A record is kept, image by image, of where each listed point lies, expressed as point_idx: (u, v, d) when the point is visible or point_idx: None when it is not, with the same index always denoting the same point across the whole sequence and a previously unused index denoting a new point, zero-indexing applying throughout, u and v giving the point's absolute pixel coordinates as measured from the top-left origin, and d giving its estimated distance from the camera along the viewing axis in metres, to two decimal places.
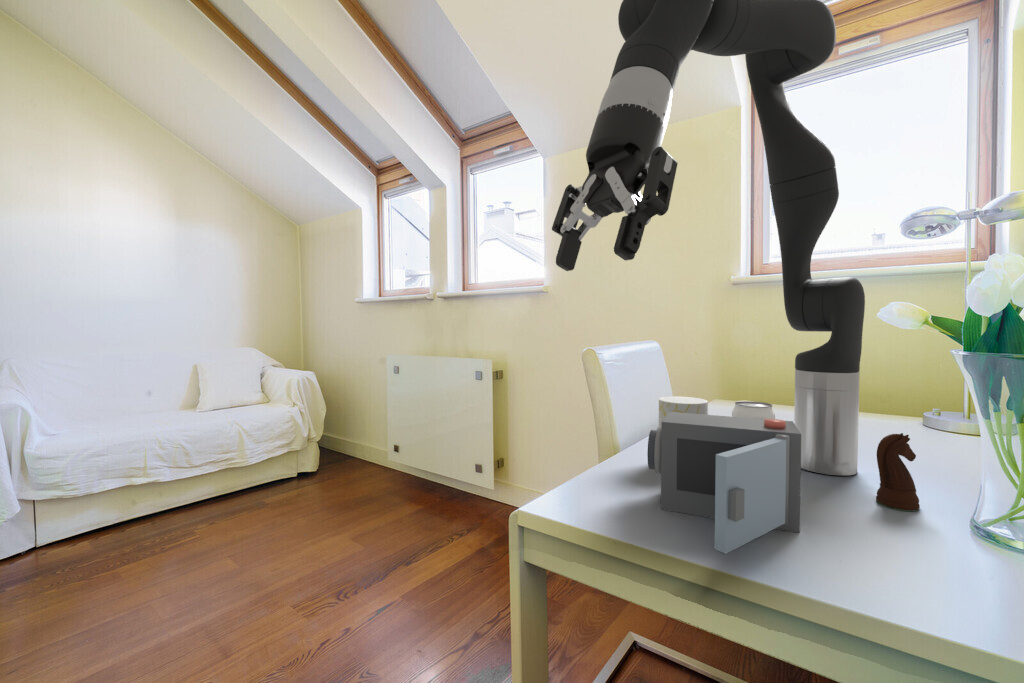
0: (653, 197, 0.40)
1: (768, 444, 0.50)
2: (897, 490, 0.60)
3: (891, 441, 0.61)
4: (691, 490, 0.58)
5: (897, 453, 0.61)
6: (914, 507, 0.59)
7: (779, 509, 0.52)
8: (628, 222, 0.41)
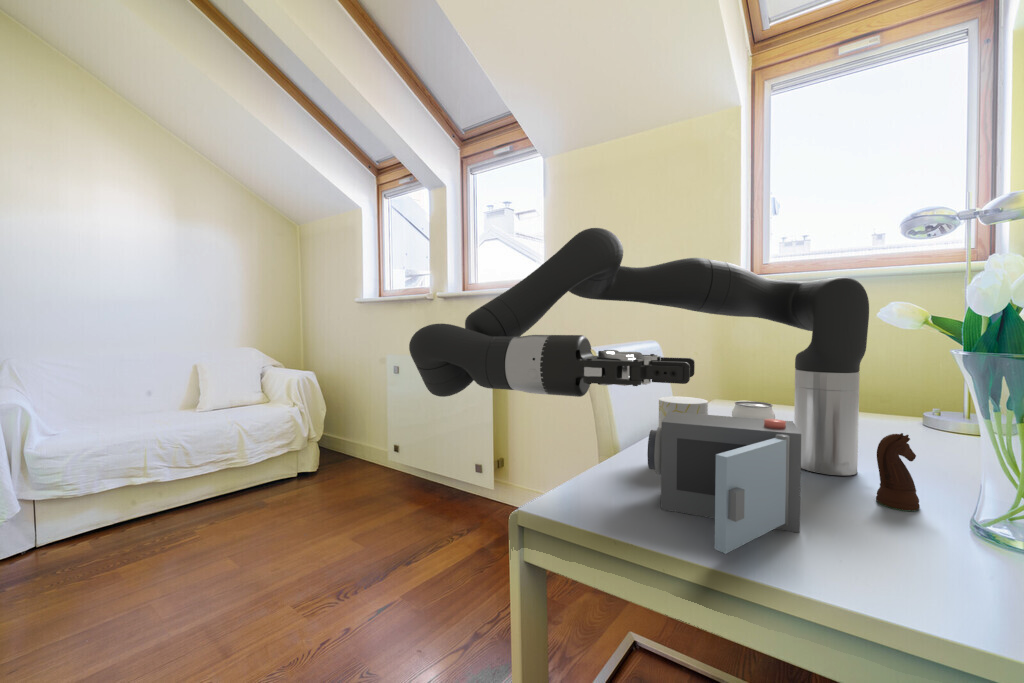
0: (635, 382, 0.45)
1: (768, 444, 0.50)
2: (897, 490, 0.60)
3: (891, 441, 0.61)
4: (691, 490, 0.58)
5: (897, 453, 0.61)
6: (914, 507, 0.59)
7: (779, 509, 0.52)
8: (657, 379, 0.46)
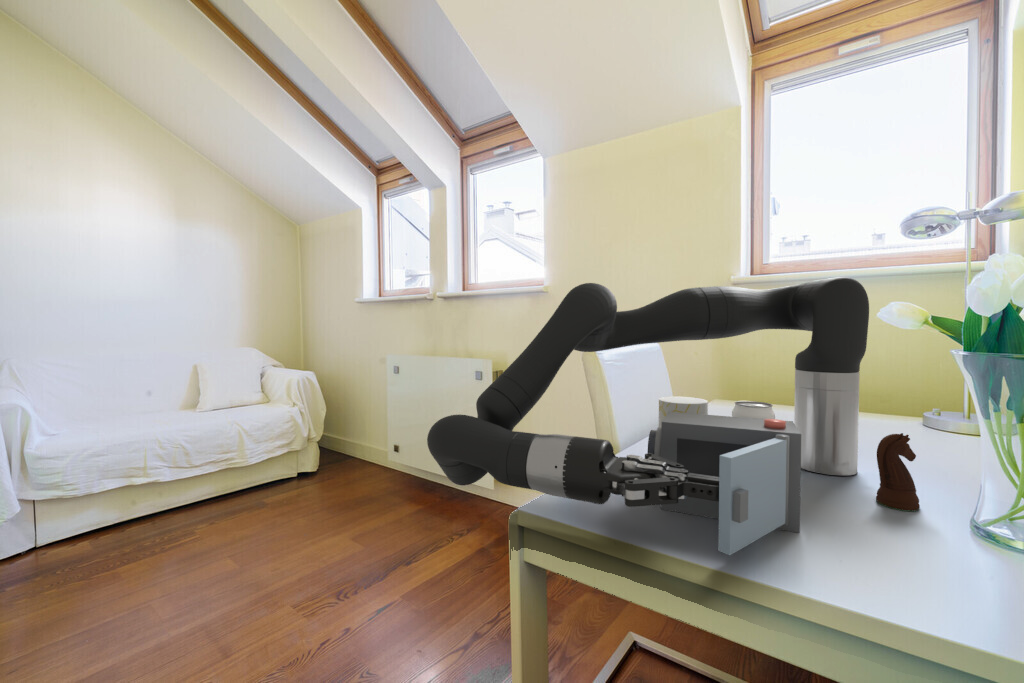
0: (672, 501, 0.46)
1: (769, 444, 0.50)
2: (897, 490, 0.60)
3: (891, 441, 0.61)
4: None
5: (897, 453, 0.61)
6: (914, 507, 0.59)
7: (780, 509, 0.52)
8: None
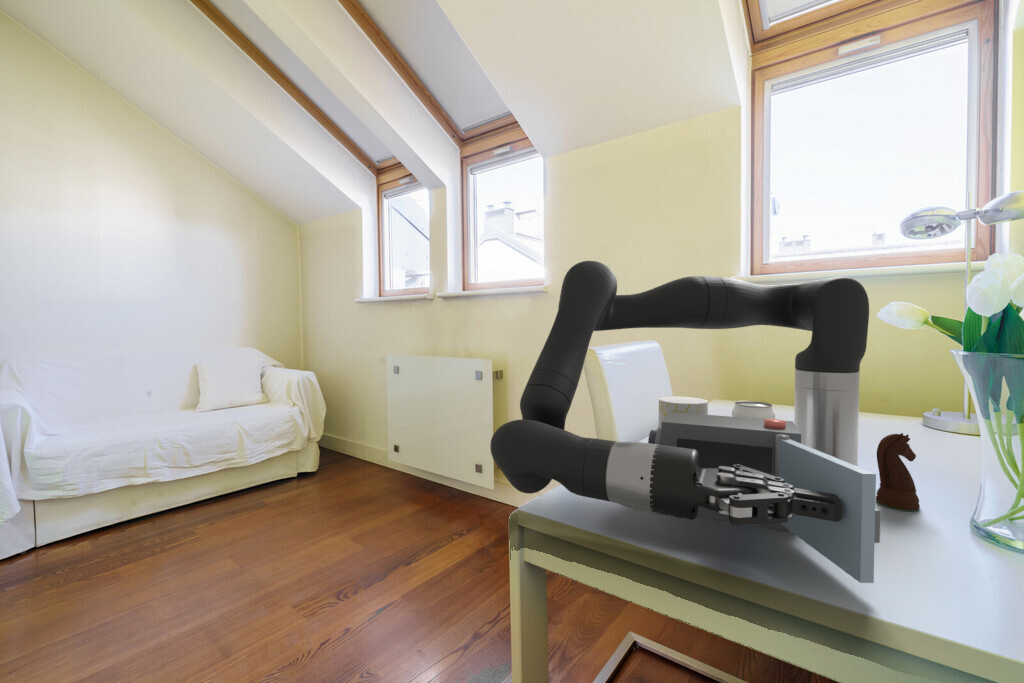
0: (781, 519, 0.42)
1: (809, 448, 0.49)
2: (897, 490, 0.60)
3: (891, 441, 0.61)
4: None
5: (897, 453, 0.61)
6: (914, 507, 0.59)
7: None
8: None
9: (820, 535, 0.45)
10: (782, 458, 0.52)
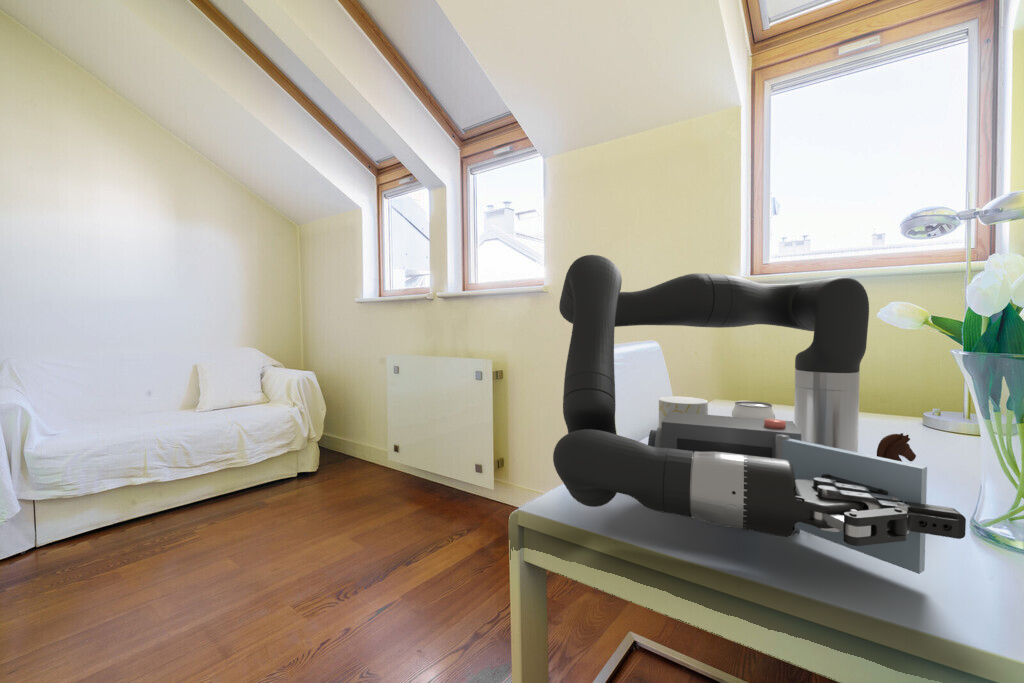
0: (900, 538, 0.38)
1: (823, 446, 0.49)
2: None
3: (891, 441, 0.61)
4: None
5: (897, 453, 0.61)
6: None
7: None
8: None
9: None
10: (789, 458, 0.52)
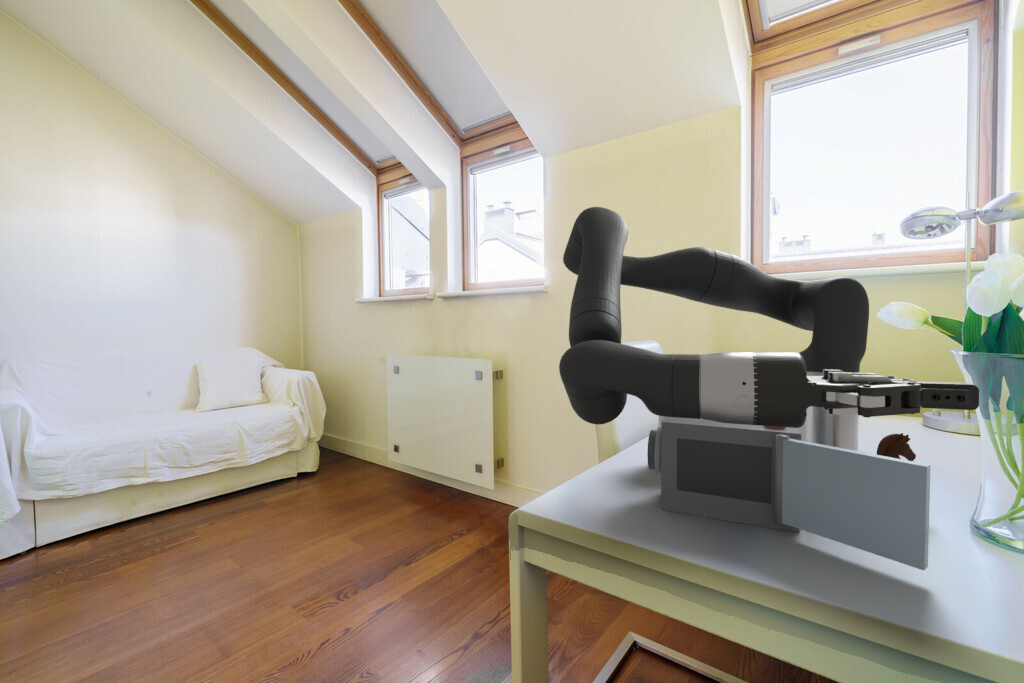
0: (914, 410, 0.38)
1: (824, 445, 0.50)
2: None
3: (891, 441, 0.61)
4: (691, 490, 0.58)
5: (897, 453, 0.61)
6: None
7: None
8: (931, 404, 0.39)
9: (857, 530, 0.46)
10: (790, 458, 0.52)
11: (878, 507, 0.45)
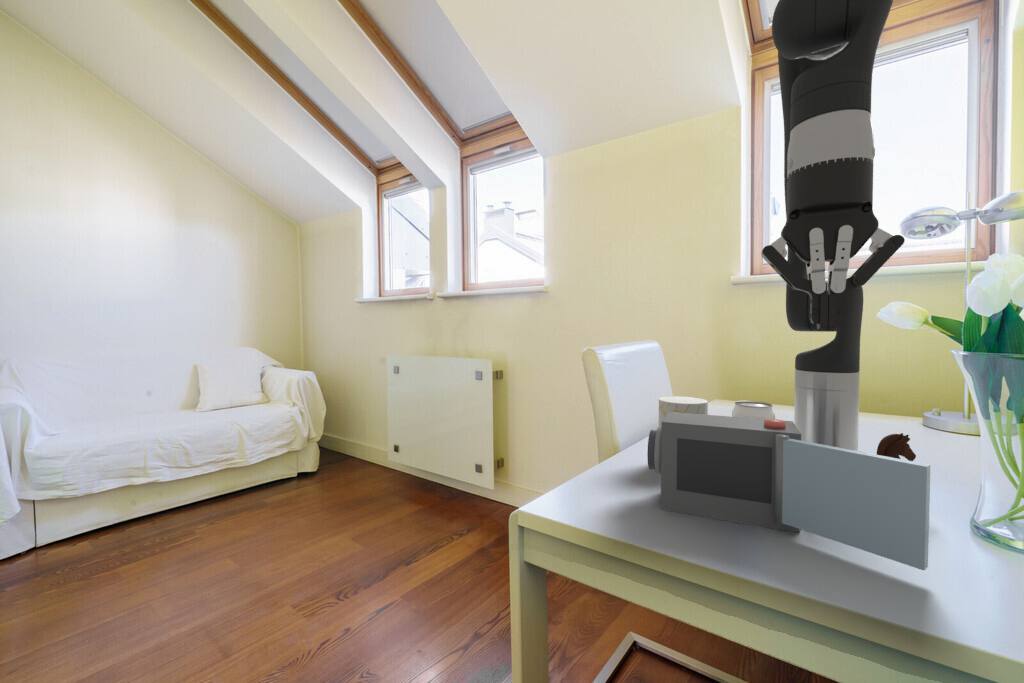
0: (865, 281, 0.46)
1: (824, 445, 0.50)
2: None
3: (891, 441, 0.61)
4: (691, 490, 0.58)
5: (897, 453, 0.61)
6: None
7: None
8: None
9: (857, 530, 0.46)
10: (790, 458, 0.52)
11: (878, 507, 0.45)
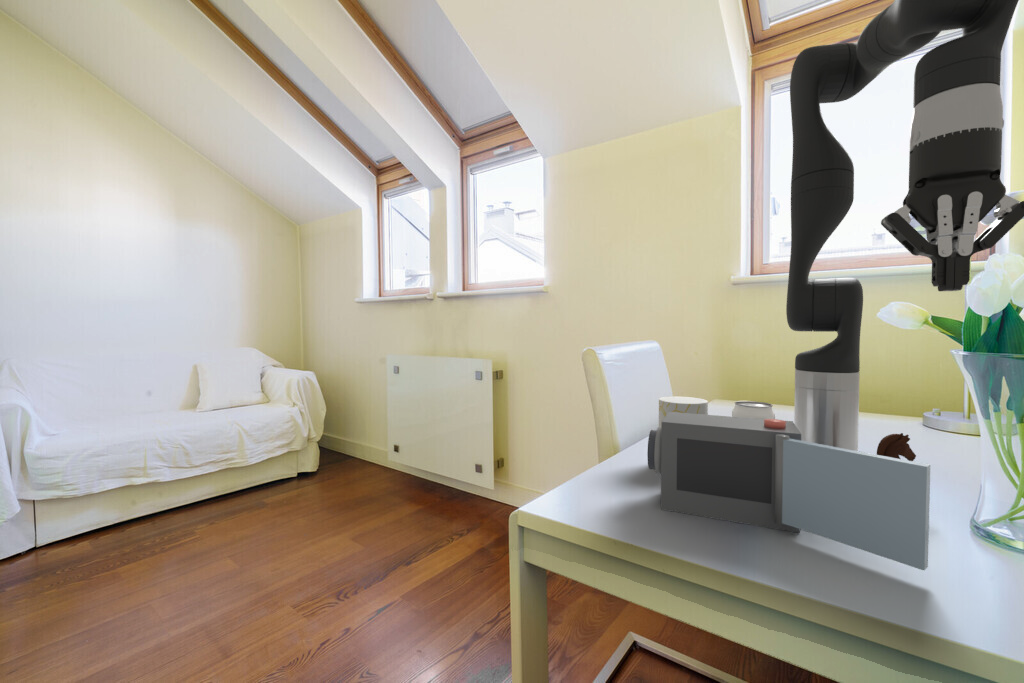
0: (993, 244, 0.49)
1: (824, 445, 0.50)
2: None
3: (891, 441, 0.61)
4: (691, 490, 0.58)
5: (897, 453, 0.61)
6: None
7: None
8: None
9: (857, 530, 0.46)
10: (790, 458, 0.52)
11: (878, 507, 0.45)
